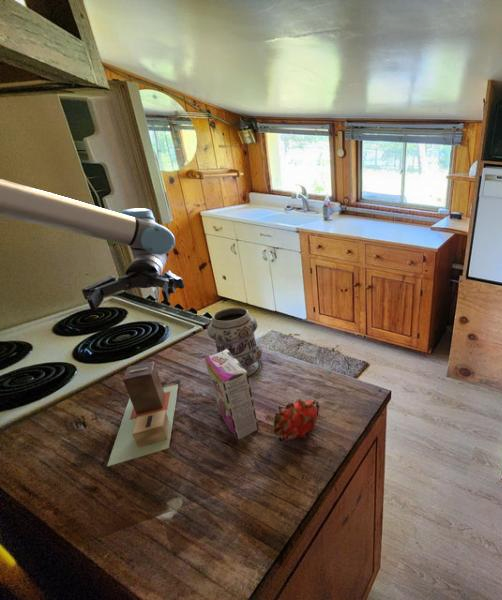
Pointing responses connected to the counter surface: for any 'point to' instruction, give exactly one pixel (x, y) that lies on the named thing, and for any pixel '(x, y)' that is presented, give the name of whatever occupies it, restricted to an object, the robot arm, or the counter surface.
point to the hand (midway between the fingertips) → (129, 300)
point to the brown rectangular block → (144, 387)
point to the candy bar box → (232, 393)
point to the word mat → (125, 441)
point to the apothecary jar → (237, 337)
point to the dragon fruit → (296, 419)
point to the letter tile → (151, 428)
